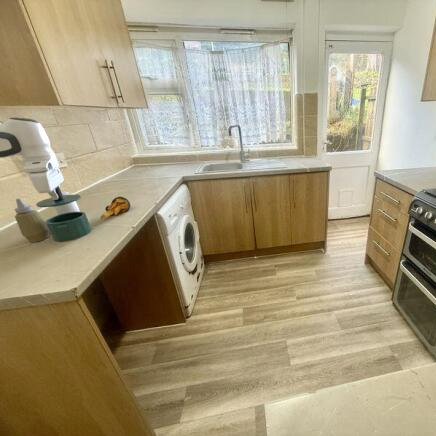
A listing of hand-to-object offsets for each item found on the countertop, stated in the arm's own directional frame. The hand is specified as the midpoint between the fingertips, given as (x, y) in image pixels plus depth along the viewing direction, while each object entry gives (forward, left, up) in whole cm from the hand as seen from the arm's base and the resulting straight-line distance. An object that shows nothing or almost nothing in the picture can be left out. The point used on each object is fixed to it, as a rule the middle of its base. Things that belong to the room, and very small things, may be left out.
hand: (57, 197), depth 98 cm
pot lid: (0, 0, -2) cm, 2 cm away
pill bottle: (-3, +17, -17) cm, 24 cm away
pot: (0, 0, -17) cm, 17 cm away
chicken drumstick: (+15, +16, -17) cm, 28 cm away
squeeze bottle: (-12, +3, -17) cm, 21 cm away
